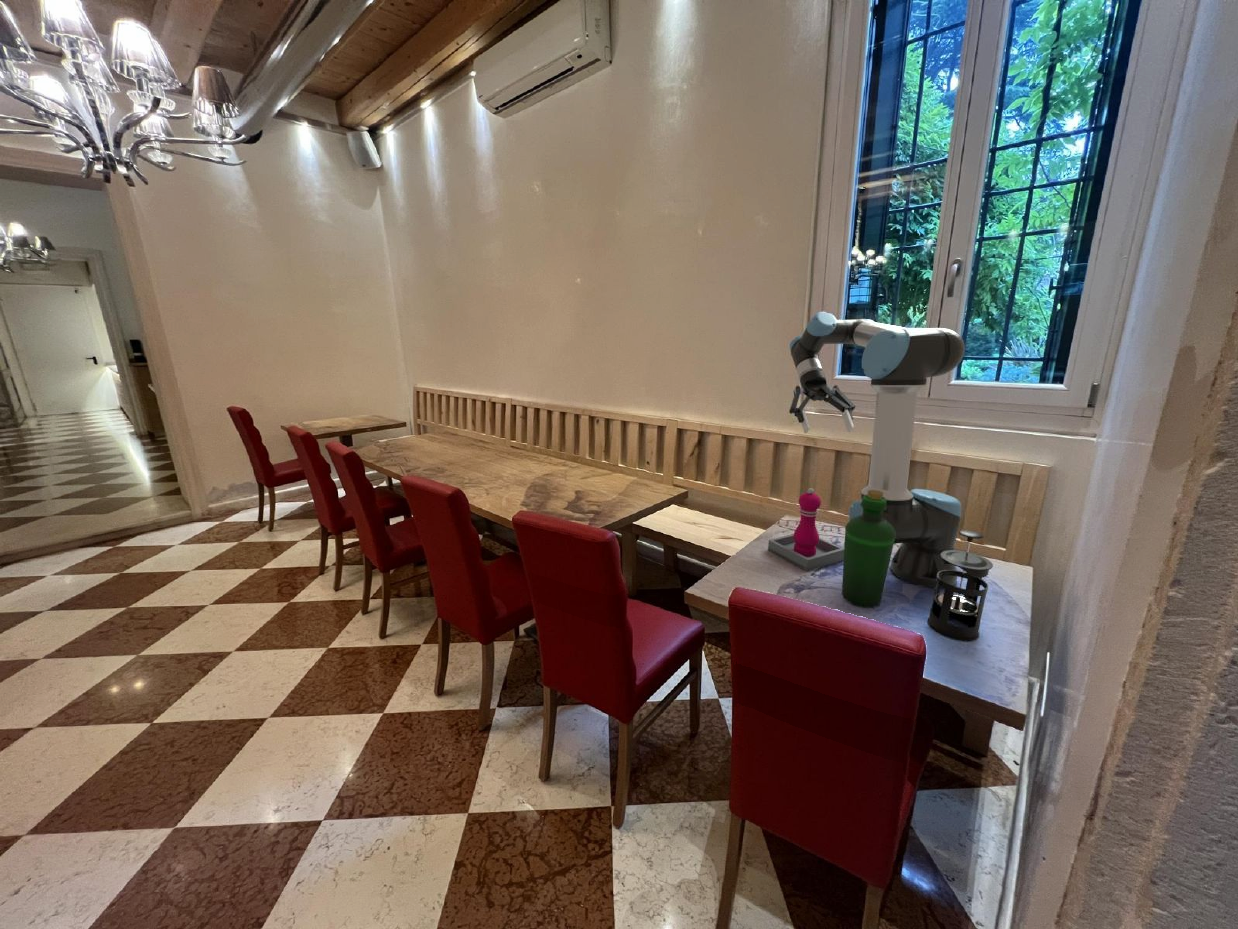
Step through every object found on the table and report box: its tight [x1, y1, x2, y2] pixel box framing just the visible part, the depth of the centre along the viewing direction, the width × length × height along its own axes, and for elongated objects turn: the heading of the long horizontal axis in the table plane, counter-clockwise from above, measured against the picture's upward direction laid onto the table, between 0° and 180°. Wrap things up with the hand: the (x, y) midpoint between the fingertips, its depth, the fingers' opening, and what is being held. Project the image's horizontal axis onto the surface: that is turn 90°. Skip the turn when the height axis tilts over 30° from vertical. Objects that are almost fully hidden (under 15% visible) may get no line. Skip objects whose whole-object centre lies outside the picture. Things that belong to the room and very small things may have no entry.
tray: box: [767, 533, 844, 572], centre depth 137 cm, size 15×15×4 cm
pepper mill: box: [793, 487, 822, 556], centre depth 135 cm, size 7×7×20 cm
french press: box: [926, 529, 994, 642], centre depth 99 cm, size 12×9×23 cm
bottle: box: [841, 490, 896, 609], centre depth 110 cm, size 11×11×28 cm
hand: (829, 430), depth 140 cm, fingers open, 13 cm apart
